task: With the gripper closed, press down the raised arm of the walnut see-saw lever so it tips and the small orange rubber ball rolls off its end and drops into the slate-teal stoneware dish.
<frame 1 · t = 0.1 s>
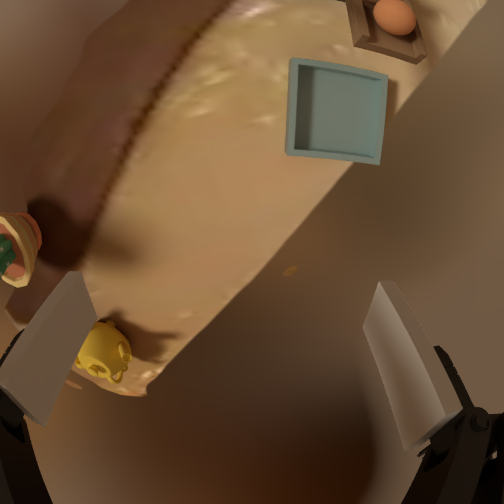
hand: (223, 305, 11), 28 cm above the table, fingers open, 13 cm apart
potted cactus: (27, 231, 40), on the table
dish: (334, 111, 32), on the table
ball: (394, 16, 13), point 17 cm above the table, touching lever
teapot: (110, 330, 52), on the table
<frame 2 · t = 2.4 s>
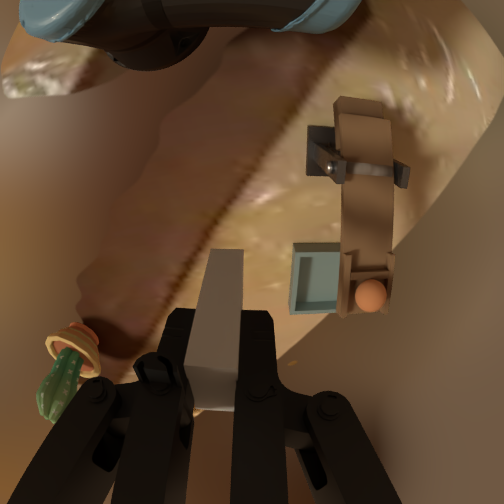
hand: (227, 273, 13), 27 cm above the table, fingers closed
lever: (365, 203, 28), point 10 cm above the table, hinge at -19.9°, touching ball
potted cactus: (84, 334, 56), on the table
dish: (326, 275, 46), on the table
stand: (341, 152, 35), on the table
ball: (370, 295, 27), point 17 cm above the table, touching lever
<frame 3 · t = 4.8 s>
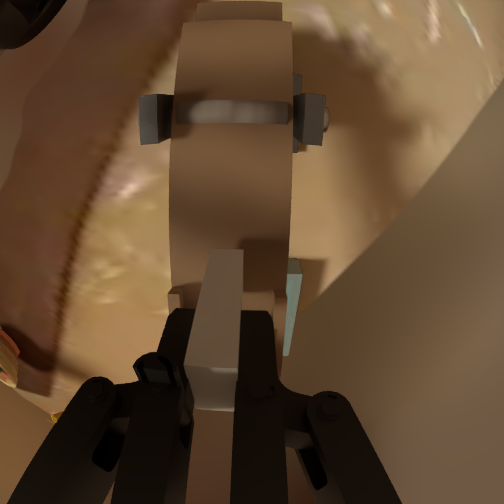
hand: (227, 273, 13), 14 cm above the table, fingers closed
lever: (231, 185, 14), point 10 cm above the table, hinge at -17.7°, touching ball, gripper
potted cactus: (6, 340, 41), on the table
dish: (238, 303, 32), on the table
stand: (240, 110, 21), on the table
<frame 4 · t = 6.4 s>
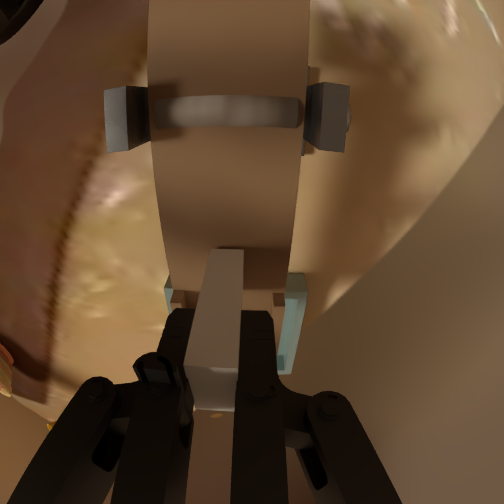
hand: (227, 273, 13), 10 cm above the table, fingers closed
lever: (227, 187, 13), point 9 cm above the table, hinge at 4.3°, touching gripper
potted cactus: (0, 349, 38), on the table
dish: (236, 320, 29), on the table
stand: (238, 107, 18), on the table
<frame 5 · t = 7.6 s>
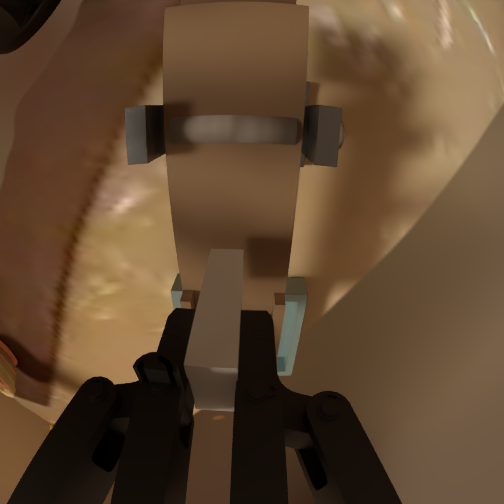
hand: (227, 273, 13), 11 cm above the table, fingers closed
lever: (234, 196, 14), point 9 cm above the table, hinge at 4.5°
potted cactus: (4, 350, 39), on the table
dish: (239, 322, 30), on the table
stand: (242, 120, 20), on the table
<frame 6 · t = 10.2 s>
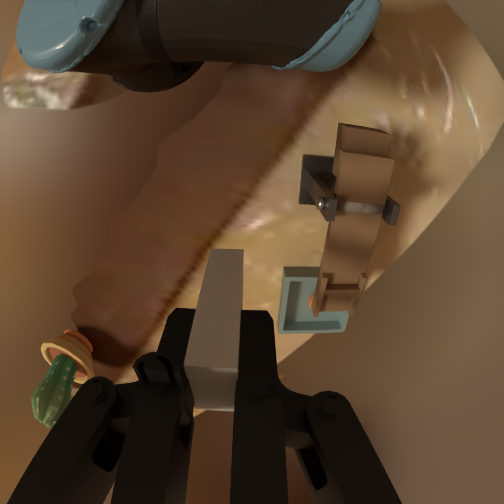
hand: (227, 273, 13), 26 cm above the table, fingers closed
lever: (350, 231, 31), point 9 cm above the table, hinge at 4.5°
potted cactus: (78, 341, 56), on the table
dish: (315, 297, 48), on the table
stand: (334, 181, 37), on the table
ball: (318, 301, 45), point 2 cm above the table, tilted 77°, touching dish
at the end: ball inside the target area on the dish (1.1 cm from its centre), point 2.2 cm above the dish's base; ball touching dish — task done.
